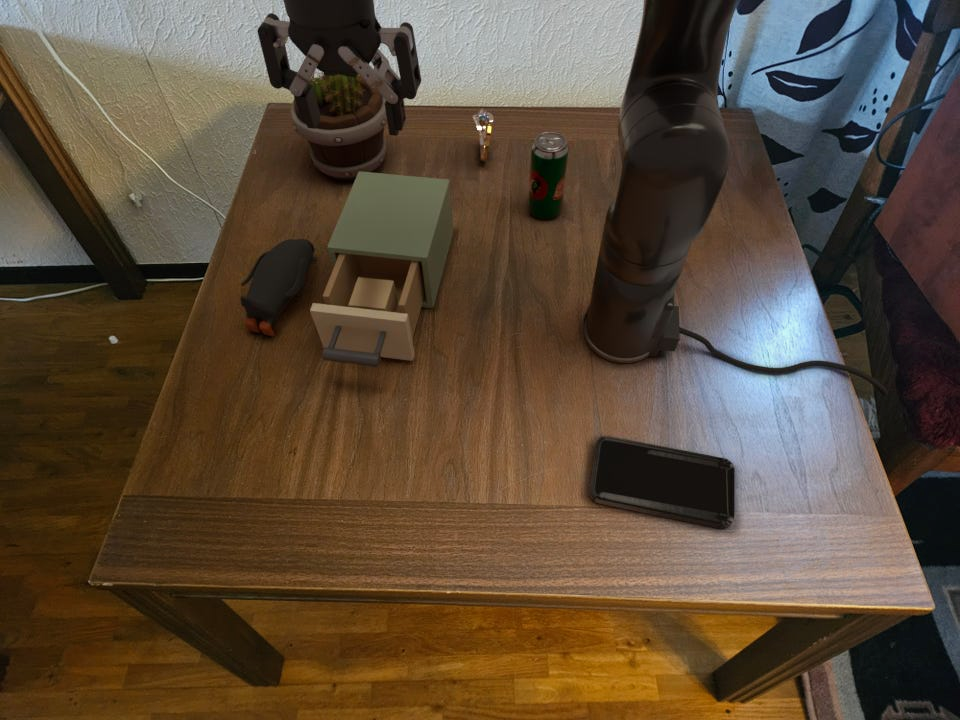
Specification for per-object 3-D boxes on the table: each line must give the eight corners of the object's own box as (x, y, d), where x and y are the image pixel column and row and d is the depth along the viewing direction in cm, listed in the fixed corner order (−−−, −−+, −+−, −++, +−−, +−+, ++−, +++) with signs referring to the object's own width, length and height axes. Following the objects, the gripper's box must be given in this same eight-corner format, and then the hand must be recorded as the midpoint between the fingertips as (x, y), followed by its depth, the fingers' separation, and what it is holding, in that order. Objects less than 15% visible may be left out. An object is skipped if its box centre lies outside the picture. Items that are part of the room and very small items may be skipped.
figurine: (293, 350, 84) (337, 258, 90) (265, 313, 75) (315, 213, 81) (244, 337, 85) (290, 247, 91) (210, 299, 76) (264, 202, 82)
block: (398, 304, 82) (393, 280, 79) (390, 332, 80) (385, 308, 76) (364, 300, 83) (357, 276, 79) (354, 328, 80) (348, 304, 76)
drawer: (404, 393, 76) (395, 355, 69) (312, 381, 77) (296, 343, 71) (434, 280, 86) (429, 238, 80) (353, 271, 87) (342, 229, 81)
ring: (474, 144, 105) (473, 100, 98) (494, 144, 105) (494, 100, 98) (472, 171, 101) (471, 127, 94) (493, 171, 101) (492, 127, 94)
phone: (734, 527, 65) (588, 496, 67) (731, 531, 66) (587, 501, 68) (734, 459, 70) (597, 433, 72) (731, 463, 71) (596, 437, 73)
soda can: (559, 223, 93) (567, 155, 84) (525, 219, 94) (529, 150, 84) (563, 200, 96) (571, 132, 86) (530, 196, 97) (534, 128, 87)
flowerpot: (291, 152, 104) (254, 30, 88) (377, 124, 108) (357, 2, 92) (322, 204, 97) (287, 81, 80) (413, 172, 101) (398, 49, 84)
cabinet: (433, 308, 84) (427, 257, 77) (342, 298, 86) (326, 247, 78) (453, 232, 93) (449, 179, 85) (369, 224, 94) (358, 171, 86)
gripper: (217, -32, 50) (275, 144, 63) (393, -22, 48) (415, 156, 62) (252, -72, 54) (300, 101, 67) (415, -64, 53) (431, 111, 66)
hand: (355, 127), depth 65 cm, fingers open, 8 cm apart
